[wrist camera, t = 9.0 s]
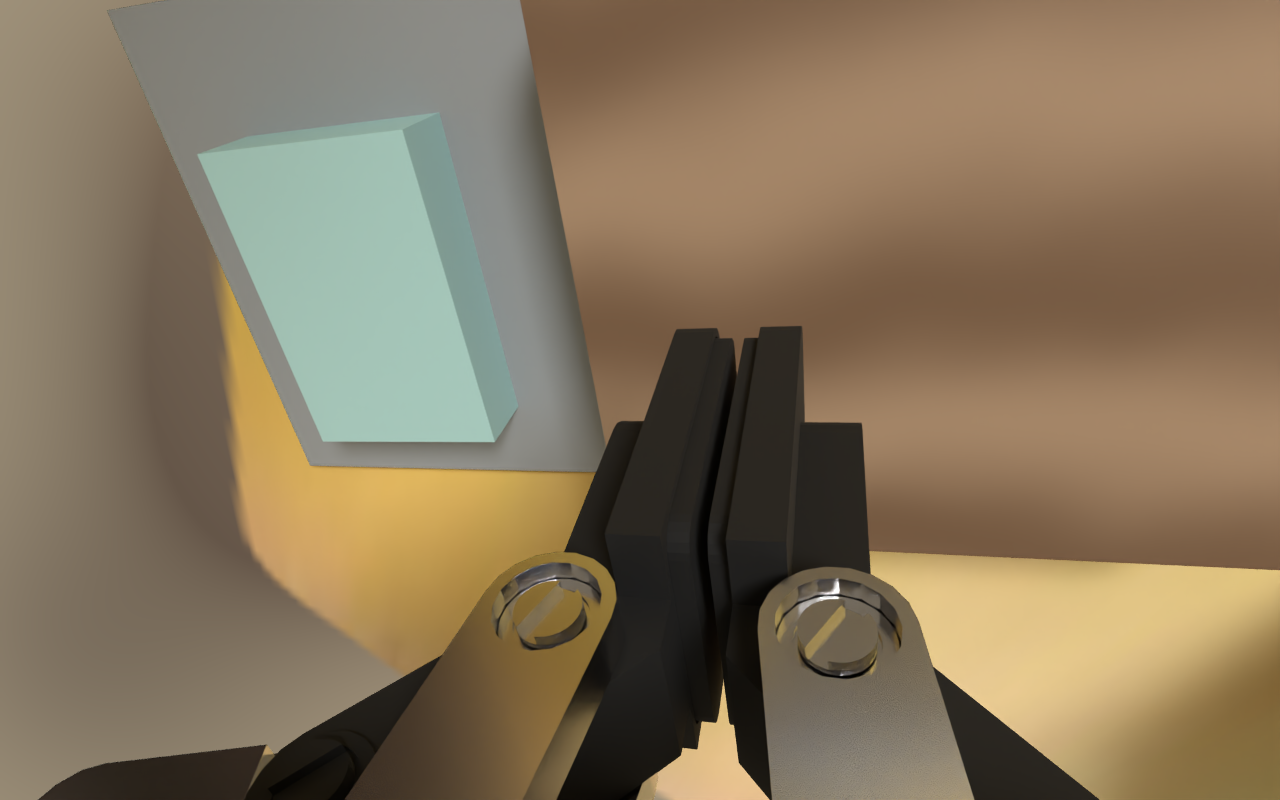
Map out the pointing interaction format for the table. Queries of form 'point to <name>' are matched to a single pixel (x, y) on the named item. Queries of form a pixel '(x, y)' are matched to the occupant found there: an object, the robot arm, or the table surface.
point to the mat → (375, 90)
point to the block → (369, 278)
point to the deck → (952, 247)
